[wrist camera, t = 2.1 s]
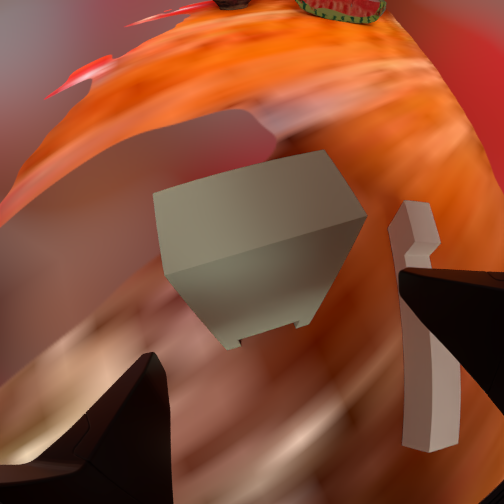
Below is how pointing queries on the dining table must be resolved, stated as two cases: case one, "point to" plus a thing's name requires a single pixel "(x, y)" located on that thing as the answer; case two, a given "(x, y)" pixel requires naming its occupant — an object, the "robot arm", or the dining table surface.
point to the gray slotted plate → (258, 242)
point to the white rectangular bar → (424, 343)
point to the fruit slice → (345, 9)
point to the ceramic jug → (232, 4)
